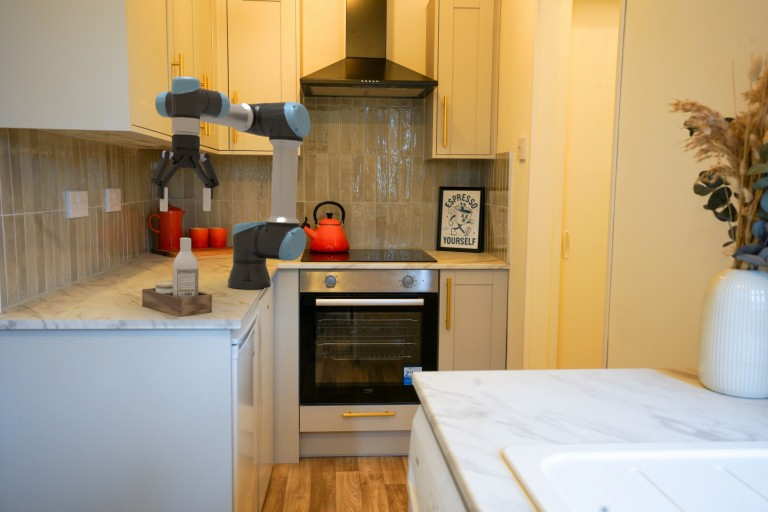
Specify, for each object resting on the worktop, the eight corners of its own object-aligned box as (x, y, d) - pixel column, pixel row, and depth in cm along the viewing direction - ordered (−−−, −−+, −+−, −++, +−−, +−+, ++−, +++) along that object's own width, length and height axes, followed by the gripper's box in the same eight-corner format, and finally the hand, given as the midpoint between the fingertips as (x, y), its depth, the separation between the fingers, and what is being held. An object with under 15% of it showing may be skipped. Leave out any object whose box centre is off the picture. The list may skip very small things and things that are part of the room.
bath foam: (203, 308, 188) (203, 238, 186) (181, 311, 183) (181, 239, 181) (190, 304, 193) (190, 236, 191) (168, 307, 188) (168, 237, 186)
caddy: (174, 302, 202) (174, 285, 201) (211, 312, 189) (211, 294, 188) (142, 305, 194) (142, 289, 194) (179, 316, 181) (179, 298, 180)
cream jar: (171, 300, 199) (171, 280, 199) (184, 303, 195) (184, 282, 194) (151, 302, 194) (150, 281, 194) (163, 306, 190) (163, 284, 189)
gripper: (216, 138, 195) (216, 210, 197) (136, 131, 176) (137, 210, 178) (231, 137, 190) (231, 211, 192) (151, 130, 171) (151, 212, 174)
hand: (185, 211), depth 185 cm, fingers open, 13 cm apart
